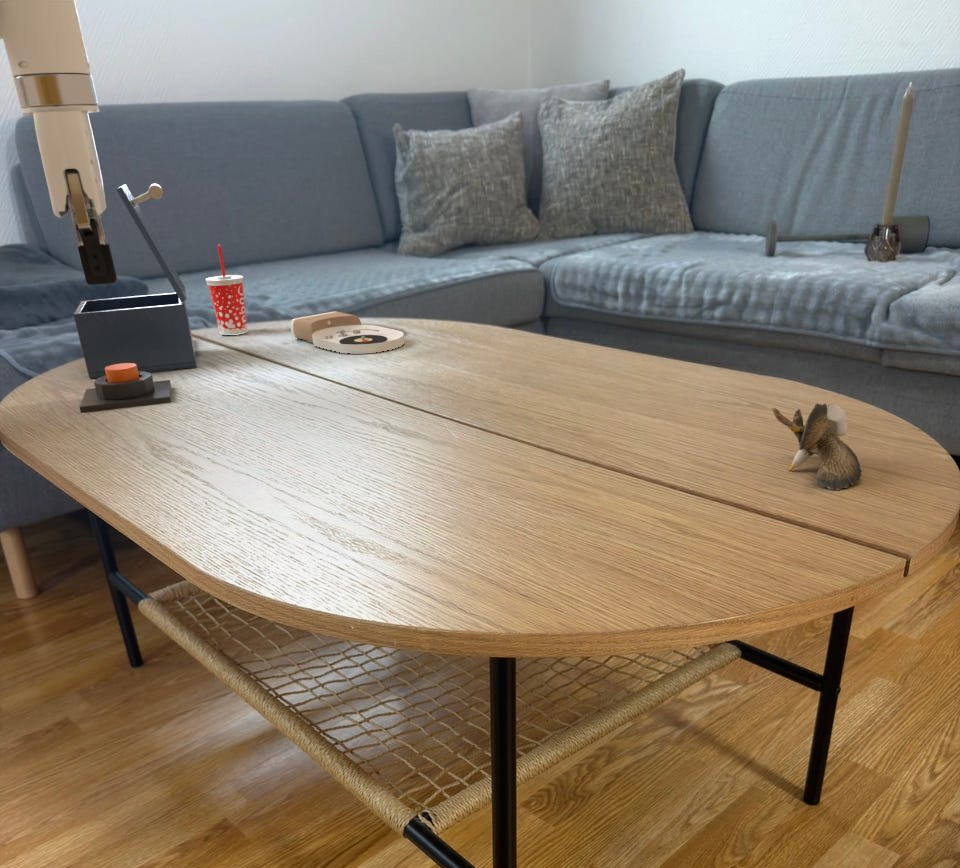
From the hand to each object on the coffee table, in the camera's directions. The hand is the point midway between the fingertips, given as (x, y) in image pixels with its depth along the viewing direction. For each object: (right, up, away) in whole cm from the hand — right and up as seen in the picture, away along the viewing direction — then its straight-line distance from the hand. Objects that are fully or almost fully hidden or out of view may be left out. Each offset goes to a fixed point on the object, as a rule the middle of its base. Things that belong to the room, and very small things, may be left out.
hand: (102, 282), depth 99 cm
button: (0, -10, +5) cm, 11 cm away
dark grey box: (-7, -1, +30) cm, 31 cm away
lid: (-3, +14, +23) cm, 28 cm away
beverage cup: (+1, +9, +49) cm, 50 cm away
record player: (+23, +4, +38) cm, 44 cm away
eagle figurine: (+73, -25, -21) cm, 80 cm away
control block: (0, -13, +7) cm, 15 cm away
